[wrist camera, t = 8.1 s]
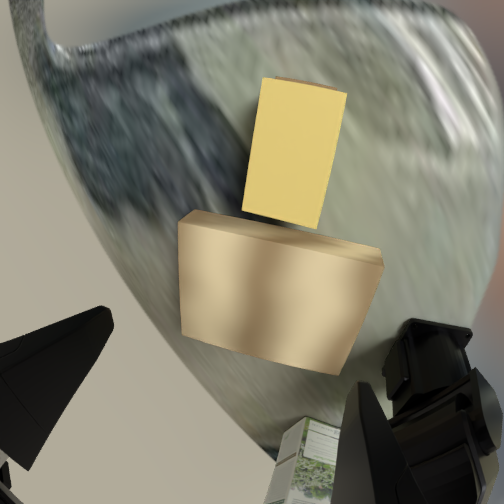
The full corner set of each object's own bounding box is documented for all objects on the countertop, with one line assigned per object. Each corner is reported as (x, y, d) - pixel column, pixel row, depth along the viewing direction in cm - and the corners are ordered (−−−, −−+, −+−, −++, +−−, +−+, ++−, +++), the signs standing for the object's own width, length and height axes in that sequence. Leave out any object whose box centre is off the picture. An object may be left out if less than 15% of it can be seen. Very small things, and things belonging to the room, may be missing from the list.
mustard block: (320, 206, 18) (344, 95, 15) (316, 229, 15) (347, 89, 11) (260, 191, 19) (278, 82, 15) (241, 210, 15) (263, 73, 12)
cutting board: (379, 248, 18) (384, 267, 16) (339, 353, 23) (338, 375, 21) (194, 209, 21) (178, 221, 18) (194, 316, 25) (181, 334, 23)
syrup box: (282, 432, 31) (250, 535, 18) (306, 413, 28) (276, 534, 15) (321, 445, 31) (298, 544, 18) (348, 428, 28) (330, 542, 15)
